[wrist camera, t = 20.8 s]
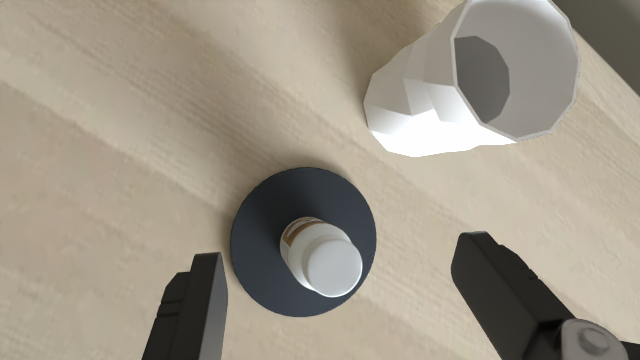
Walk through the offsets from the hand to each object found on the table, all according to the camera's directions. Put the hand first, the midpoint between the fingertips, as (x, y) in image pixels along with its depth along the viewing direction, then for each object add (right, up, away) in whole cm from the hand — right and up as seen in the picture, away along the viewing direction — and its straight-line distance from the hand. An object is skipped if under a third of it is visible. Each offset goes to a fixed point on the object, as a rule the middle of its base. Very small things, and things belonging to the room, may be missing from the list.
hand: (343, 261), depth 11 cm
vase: (+7, +9, +19) cm, 22 cm away
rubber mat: (-2, -2, +16) cm, 16 cm away
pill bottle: (-2, -2, +16) cm, 16 cm away
